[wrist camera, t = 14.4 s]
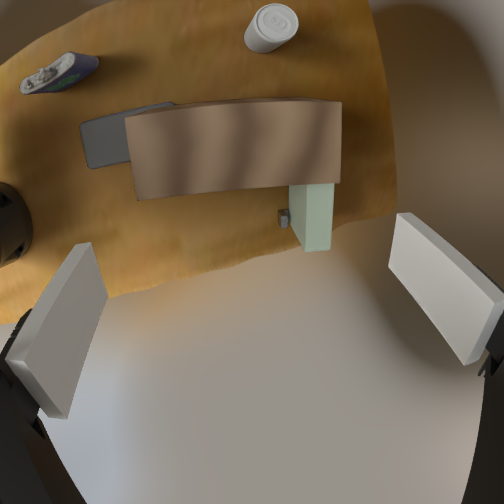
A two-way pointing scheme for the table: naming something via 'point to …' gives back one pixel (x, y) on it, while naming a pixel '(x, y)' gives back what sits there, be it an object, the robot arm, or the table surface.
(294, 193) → the pale green square block
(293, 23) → the beverage can
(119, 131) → the smartphone
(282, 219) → the hinge clips
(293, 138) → the cabinet
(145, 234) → the table surface
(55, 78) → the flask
